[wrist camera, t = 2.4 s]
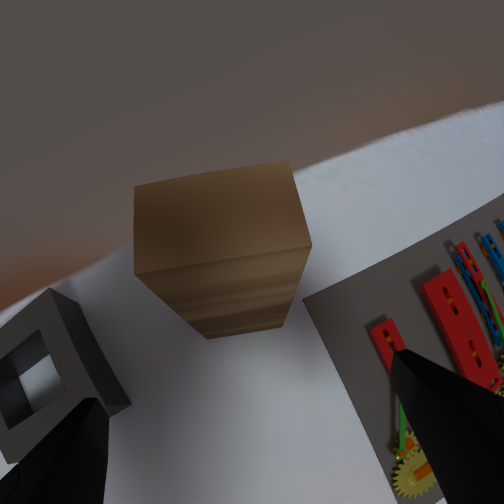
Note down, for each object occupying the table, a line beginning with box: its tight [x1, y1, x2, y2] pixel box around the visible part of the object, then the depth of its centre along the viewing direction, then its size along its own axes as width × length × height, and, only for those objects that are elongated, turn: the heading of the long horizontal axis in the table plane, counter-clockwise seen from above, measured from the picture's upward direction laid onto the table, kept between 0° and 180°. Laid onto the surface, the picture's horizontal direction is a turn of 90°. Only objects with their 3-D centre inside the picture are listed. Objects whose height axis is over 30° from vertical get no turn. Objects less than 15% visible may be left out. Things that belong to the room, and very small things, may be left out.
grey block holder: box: [0, 287, 132, 464], centre depth 17 cm, size 9×11×4 cm
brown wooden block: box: [134, 161, 312, 339], centre depth 15 cm, size 3×5×13 cm, turn 99°
